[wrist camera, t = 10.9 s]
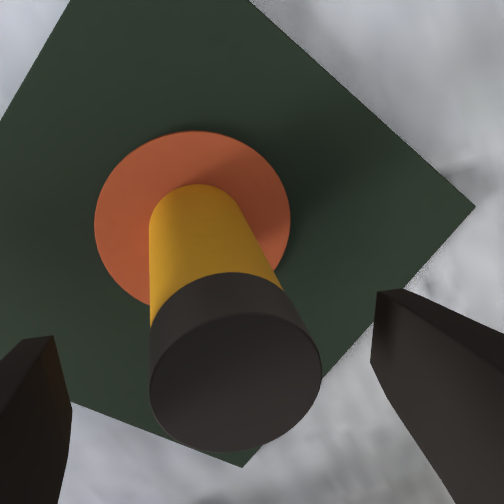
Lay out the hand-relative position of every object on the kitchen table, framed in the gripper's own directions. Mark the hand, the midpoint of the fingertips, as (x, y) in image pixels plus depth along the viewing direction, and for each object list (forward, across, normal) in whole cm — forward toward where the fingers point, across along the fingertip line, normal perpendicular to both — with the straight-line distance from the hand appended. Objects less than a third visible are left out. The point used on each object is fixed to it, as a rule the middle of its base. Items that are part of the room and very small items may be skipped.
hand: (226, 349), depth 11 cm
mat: (+8, 0, +1) cm, 8 cm away
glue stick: (+7, 0, 0) cm, 7 cm away
